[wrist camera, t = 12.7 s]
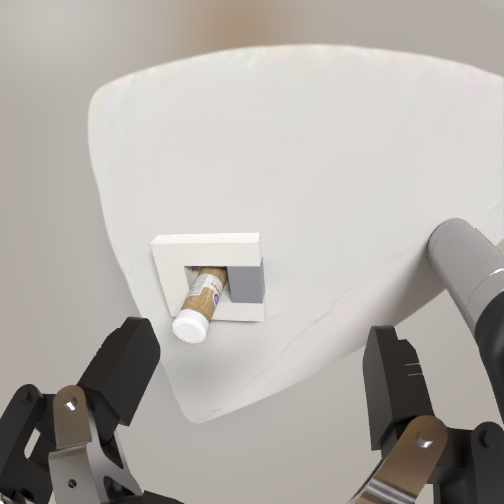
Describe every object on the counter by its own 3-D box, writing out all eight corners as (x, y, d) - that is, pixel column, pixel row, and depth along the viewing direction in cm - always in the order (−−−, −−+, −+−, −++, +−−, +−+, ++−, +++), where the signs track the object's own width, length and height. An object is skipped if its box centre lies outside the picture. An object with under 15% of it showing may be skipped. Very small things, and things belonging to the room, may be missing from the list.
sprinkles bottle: (233, 281, 46) (212, 342, 34) (208, 288, 47) (183, 347, 36) (220, 257, 44) (193, 315, 33) (195, 265, 46) (163, 322, 34)
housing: (260, 232, 41) (257, 242, 39) (266, 309, 48) (264, 321, 45) (158, 234, 44) (150, 243, 41) (176, 305, 51) (171, 316, 48)
